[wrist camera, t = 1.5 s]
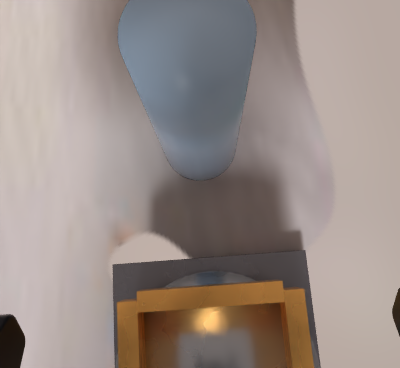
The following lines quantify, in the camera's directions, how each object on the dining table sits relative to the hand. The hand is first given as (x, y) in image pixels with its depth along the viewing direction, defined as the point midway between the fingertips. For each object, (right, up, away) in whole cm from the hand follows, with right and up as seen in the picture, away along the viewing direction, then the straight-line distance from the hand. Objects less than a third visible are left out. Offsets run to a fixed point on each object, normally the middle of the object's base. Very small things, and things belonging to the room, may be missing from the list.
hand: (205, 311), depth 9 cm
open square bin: (+1, -7, +12) cm, 14 cm away
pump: (0, +5, +15) cm, 16 cm away
